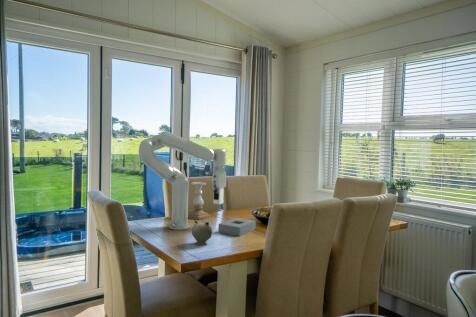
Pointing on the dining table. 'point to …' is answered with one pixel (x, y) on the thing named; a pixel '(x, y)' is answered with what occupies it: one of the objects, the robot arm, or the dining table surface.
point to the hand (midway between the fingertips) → (218, 198)
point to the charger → (221, 196)
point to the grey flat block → (237, 226)
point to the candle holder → (198, 203)
